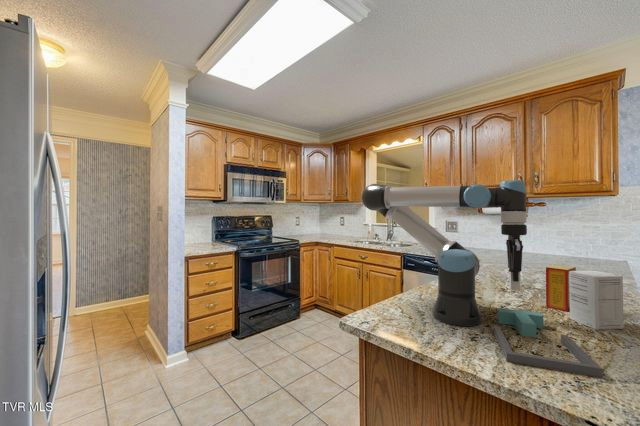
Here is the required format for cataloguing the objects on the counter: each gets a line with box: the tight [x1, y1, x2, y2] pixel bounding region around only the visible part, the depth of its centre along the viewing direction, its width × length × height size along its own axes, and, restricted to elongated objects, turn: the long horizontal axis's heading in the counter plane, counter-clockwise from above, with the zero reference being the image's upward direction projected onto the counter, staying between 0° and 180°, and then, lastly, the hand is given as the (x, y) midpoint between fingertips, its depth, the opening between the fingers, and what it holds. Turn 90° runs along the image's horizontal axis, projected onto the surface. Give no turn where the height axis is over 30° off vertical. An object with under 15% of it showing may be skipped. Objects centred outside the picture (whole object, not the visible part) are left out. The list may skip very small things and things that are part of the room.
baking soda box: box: [545, 264, 577, 313], centre depth 109 cm, size 10×6×16 cm
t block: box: [496, 307, 545, 339], centre depth 89 cm, size 12×12×4 cm
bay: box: [493, 325, 603, 379], centre depth 74 cm, size 18×18×2 cm
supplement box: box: [569, 270, 625, 331], centre depth 92 cm, size 10×9×17 cm
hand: (514, 289), depth 100 cm, fingers closed
